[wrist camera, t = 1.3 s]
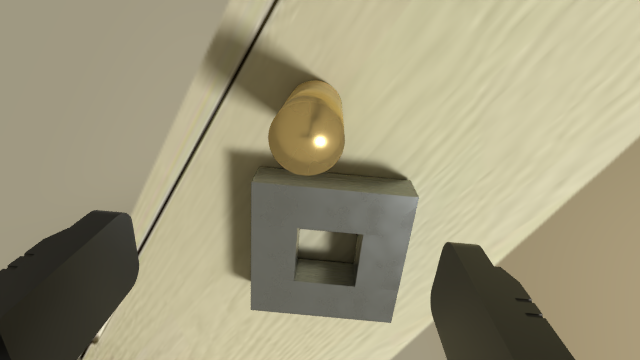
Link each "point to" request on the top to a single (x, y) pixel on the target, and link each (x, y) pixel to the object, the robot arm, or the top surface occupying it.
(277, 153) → the brass cylinder
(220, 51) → the top surface
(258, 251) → the frame
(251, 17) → the top surface
